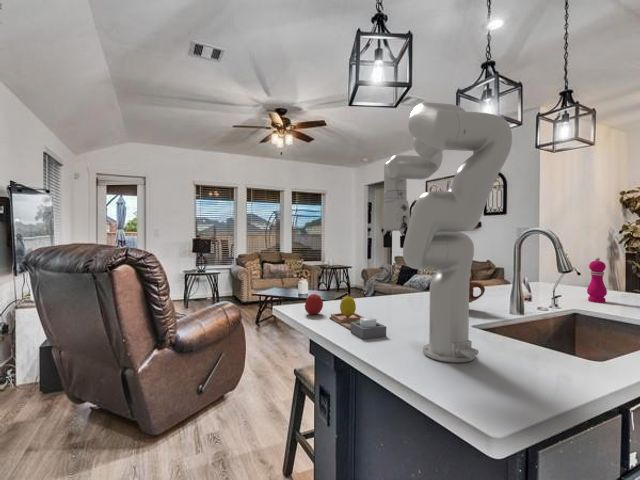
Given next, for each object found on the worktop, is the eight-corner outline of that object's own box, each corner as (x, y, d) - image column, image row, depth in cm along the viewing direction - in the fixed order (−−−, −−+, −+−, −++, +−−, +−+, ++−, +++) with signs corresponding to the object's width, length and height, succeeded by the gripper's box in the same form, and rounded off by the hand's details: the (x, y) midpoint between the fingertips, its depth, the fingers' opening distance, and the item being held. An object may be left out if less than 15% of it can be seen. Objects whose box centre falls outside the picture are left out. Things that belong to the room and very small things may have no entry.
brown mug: (488, 310, 147) (489, 275, 147) (481, 315, 137) (481, 278, 137) (439, 304, 159) (439, 272, 159) (429, 308, 149) (429, 274, 149)
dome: (379, 333, 111) (379, 320, 111) (364, 335, 109) (364, 321, 109) (371, 329, 116) (371, 316, 115) (357, 331, 114) (357, 318, 114)
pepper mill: (582, 300, 167) (583, 256, 167) (594, 299, 170) (595, 256, 169) (599, 303, 160) (599, 258, 160) (610, 302, 163) (611, 257, 162)
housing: (386, 336, 110) (386, 326, 110) (362, 339, 107) (362, 329, 107) (372, 329, 117) (372, 320, 117) (350, 332, 114) (350, 322, 114)
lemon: (354, 320, 127) (354, 297, 127) (338, 319, 128) (339, 296, 128) (356, 316, 132) (356, 294, 132) (341, 315, 133) (341, 294, 133)
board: (380, 328, 119) (380, 323, 119) (353, 331, 115) (353, 326, 115) (354, 316, 136) (354, 311, 136) (329, 318, 132) (329, 314, 132)
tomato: (325, 292, 139) (306, 287, 141) (318, 307, 133) (298, 302, 135) (325, 305, 144) (307, 300, 146) (319, 321, 138) (300, 315, 141)
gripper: (420, 195, 118) (421, 247, 118) (389, 200, 134) (390, 247, 134) (401, 193, 115) (402, 248, 115) (372, 199, 131) (372, 247, 131)
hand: (395, 247), depth 124 cm, fingers open, 9 cm apart
